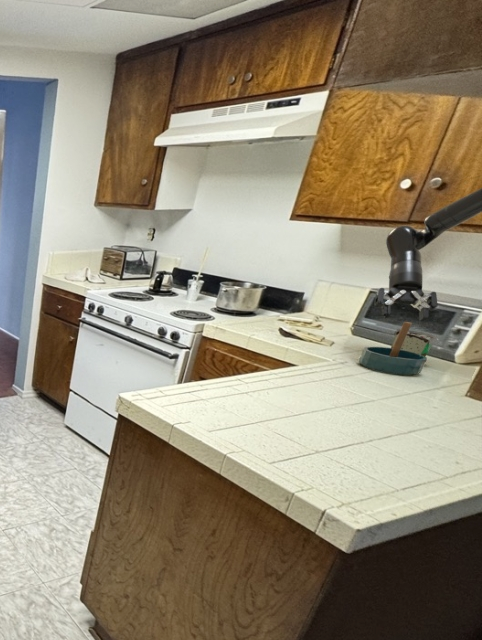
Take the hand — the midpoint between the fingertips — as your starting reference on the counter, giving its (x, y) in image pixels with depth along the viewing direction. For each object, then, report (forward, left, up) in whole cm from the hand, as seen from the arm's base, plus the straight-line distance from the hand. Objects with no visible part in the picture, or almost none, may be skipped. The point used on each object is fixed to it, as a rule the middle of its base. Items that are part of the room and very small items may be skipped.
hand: (404, 318), depth 151 cm
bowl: (0, +3, -16) cm, 17 cm away
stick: (0, +3, -16) cm, 16 cm away
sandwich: (-10, -12, -17) cm, 23 cm away
